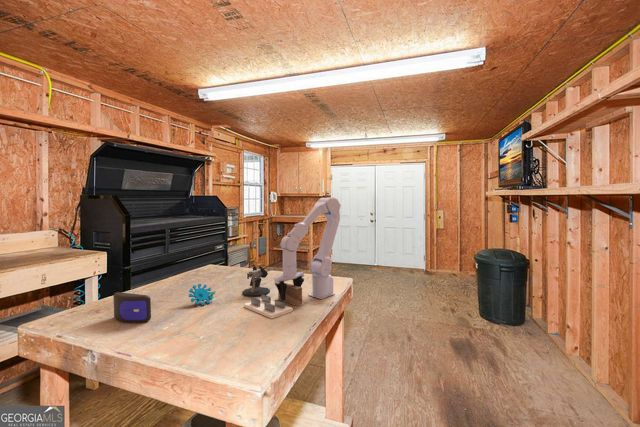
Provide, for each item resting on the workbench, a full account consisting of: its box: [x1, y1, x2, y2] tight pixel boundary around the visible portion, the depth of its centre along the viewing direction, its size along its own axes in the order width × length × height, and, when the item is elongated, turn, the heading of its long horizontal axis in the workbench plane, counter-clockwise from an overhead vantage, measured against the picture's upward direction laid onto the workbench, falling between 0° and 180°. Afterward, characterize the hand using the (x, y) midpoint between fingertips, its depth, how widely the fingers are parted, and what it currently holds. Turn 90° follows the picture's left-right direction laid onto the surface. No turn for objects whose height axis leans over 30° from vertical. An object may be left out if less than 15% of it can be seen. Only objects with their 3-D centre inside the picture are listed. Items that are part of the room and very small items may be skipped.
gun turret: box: [241, 265, 275, 298], centre depth 138 cm, size 13×20×13 cm, turn 154°
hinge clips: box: [250, 294, 286, 312], centre depth 114 cm, size 6×14×2 cm, turn 47°
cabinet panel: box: [243, 298, 294, 319], centre depth 114 cm, size 10×18×1 cm, turn 47°
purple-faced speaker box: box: [113, 291, 152, 324], centre depth 104 cm, size 16×5×9 cm, turn 73°
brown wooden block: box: [277, 282, 303, 307], centre depth 123 cm, size 4×12×7 cm, turn 47°
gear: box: [188, 283, 217, 306], centre depth 123 cm, size 11×6×10 cm
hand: (289, 297), depth 123 cm, fingers open, 7 cm apart
